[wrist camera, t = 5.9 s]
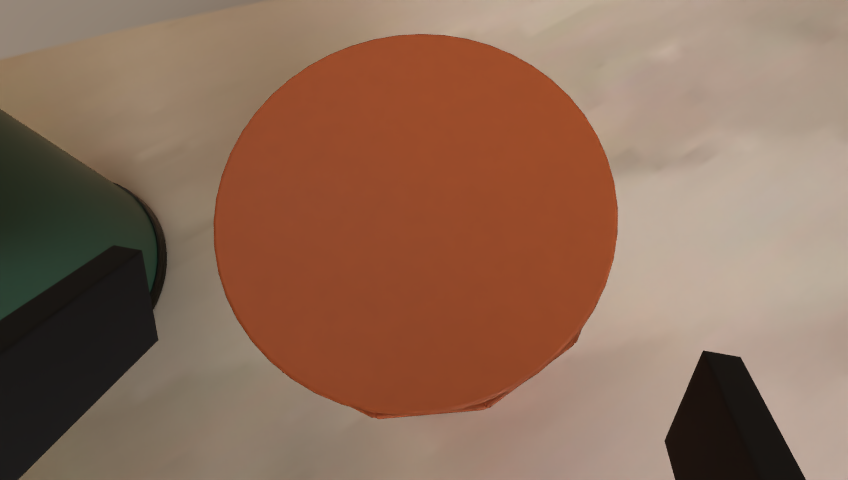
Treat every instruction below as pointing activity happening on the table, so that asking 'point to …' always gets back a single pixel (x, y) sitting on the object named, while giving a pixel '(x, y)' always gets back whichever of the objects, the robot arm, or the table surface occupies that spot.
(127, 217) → the flask
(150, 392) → the table surface
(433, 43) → the cap
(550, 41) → the table surface
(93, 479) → the table surface
